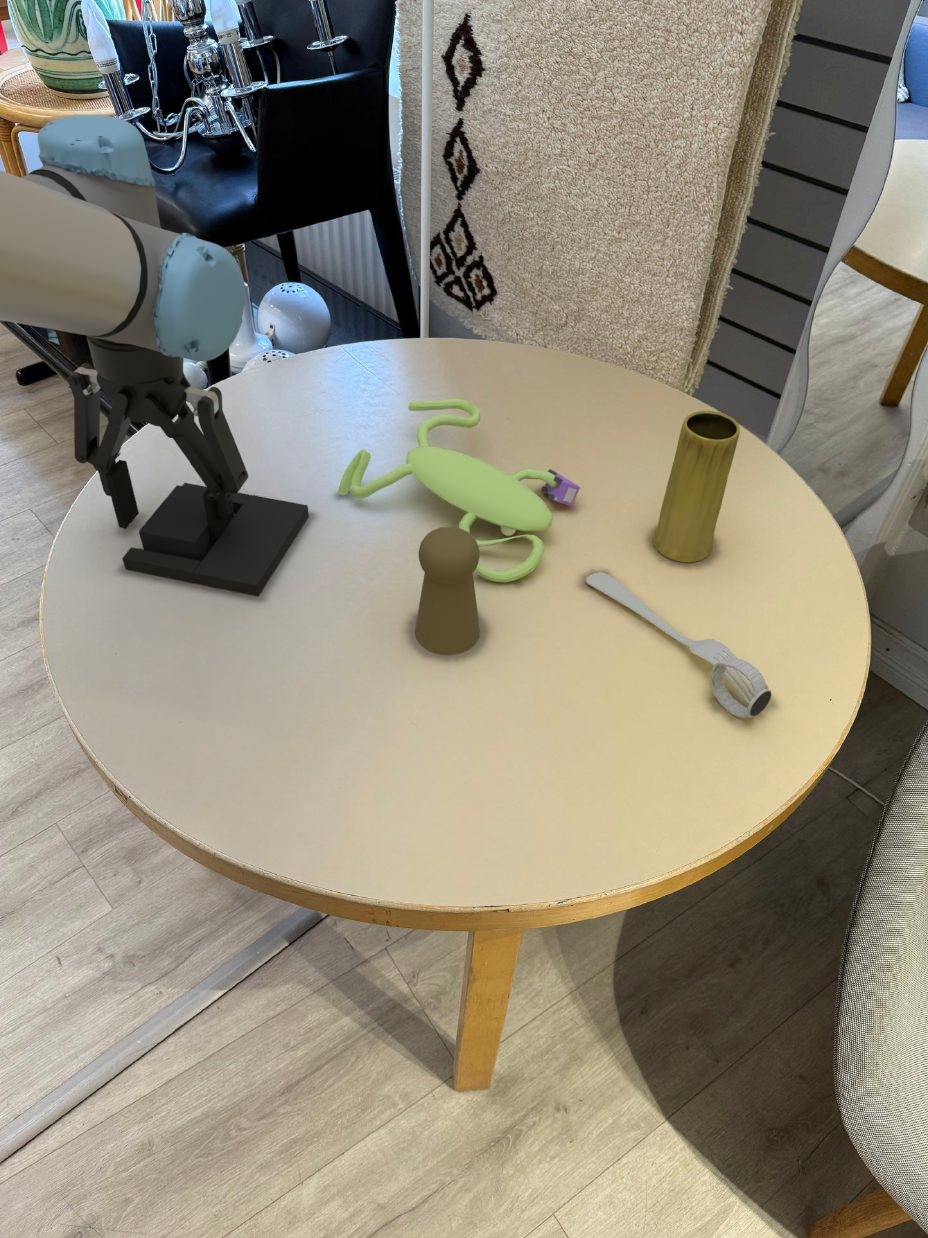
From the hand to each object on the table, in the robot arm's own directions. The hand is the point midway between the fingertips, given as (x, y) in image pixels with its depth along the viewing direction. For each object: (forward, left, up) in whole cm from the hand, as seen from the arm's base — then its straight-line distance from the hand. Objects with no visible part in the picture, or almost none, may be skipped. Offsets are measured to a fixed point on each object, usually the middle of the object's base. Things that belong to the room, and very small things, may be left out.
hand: (174, 529), depth 92 cm
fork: (+50, -1, -1) cm, 50 cm away
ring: (+56, -8, -1) cm, 57 cm away
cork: (+30, -6, -1) cm, 31 cm away
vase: (+50, +13, -1) cm, 52 cm away
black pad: (+5, 0, 0) cm, 6 cm away
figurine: (+26, +14, -1) cm, 30 cm away
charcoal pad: (+2, 0, 0) cm, 2 cm away
